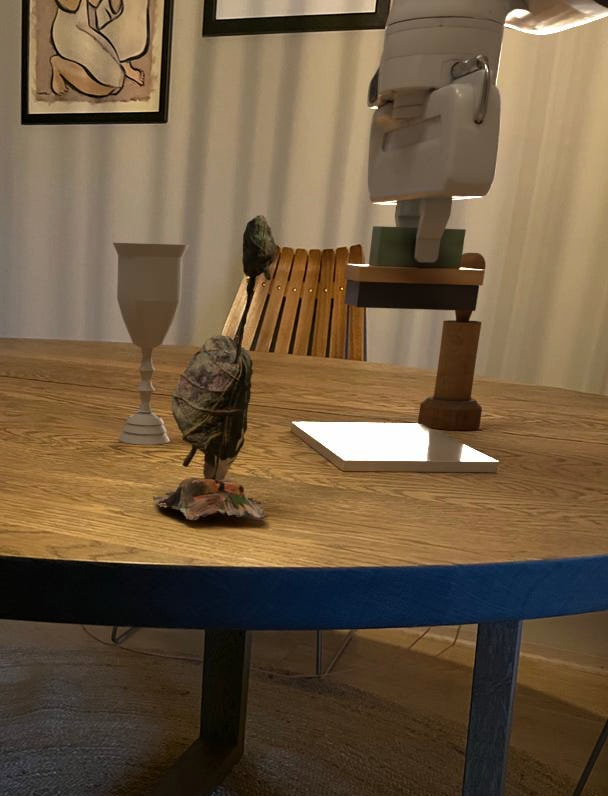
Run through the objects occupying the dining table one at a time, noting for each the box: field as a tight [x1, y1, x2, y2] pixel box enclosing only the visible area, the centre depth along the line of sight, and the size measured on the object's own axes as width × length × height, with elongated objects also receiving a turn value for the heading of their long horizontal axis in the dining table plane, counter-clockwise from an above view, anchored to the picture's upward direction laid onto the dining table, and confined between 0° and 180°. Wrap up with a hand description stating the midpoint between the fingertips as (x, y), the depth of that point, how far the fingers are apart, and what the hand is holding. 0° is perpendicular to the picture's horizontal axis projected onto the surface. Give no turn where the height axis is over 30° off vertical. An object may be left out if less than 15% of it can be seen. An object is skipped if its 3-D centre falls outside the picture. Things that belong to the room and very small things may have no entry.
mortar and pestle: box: [417, 252, 487, 431], centre depth 111 cm, size 7×6×18 cm
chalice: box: [112, 242, 189, 446], centre depth 98 cm, size 7×7×18 cm
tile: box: [290, 421, 500, 474], centre depth 99 cm, size 14×20×1 cm
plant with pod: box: [152, 214, 277, 521], centre depth 72 cm, size 8×11×20 cm
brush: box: [343, 225, 486, 312], centre depth 85 cm, size 10×4×6 cm, turn 94°
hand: (415, 261), depth 85 cm, fingers closed on brush, 2 cm apart
